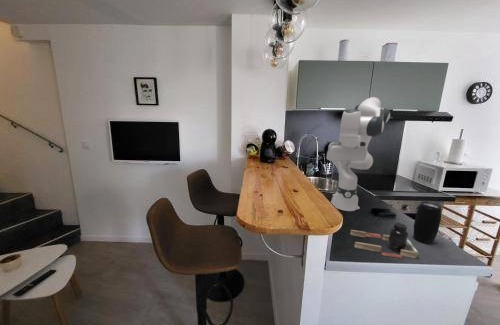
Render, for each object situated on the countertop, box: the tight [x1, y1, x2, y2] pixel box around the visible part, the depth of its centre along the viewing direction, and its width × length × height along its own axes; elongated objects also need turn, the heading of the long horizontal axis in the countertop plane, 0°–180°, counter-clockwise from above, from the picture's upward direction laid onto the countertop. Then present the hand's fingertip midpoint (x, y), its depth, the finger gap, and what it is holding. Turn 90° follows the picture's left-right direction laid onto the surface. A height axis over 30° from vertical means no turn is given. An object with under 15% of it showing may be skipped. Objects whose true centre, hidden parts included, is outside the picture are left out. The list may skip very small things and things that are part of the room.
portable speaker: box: [413, 200, 442, 245], centre depth 105 cm, size 9×9×20 cm
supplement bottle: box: [387, 222, 409, 253], centre depth 98 cm, size 7×7×12 cm
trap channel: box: [350, 229, 420, 260], centre depth 102 cm, size 18×26×2 cm
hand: (344, 168), depth 108 cm, fingers closed
